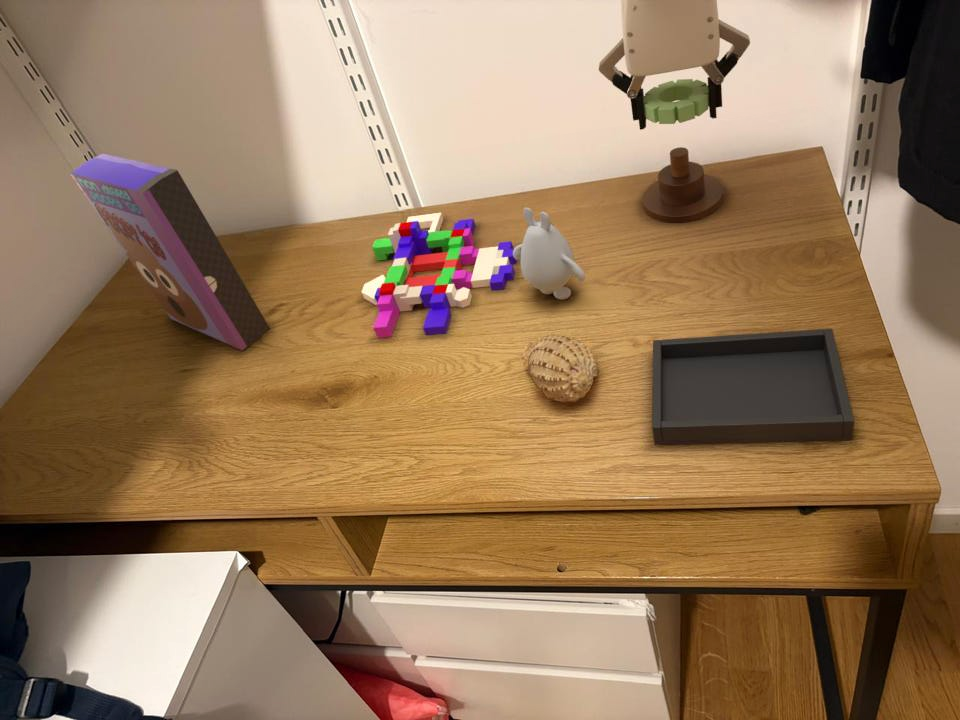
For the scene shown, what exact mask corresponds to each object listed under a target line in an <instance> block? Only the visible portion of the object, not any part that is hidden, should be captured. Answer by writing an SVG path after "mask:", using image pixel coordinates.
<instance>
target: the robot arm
mask: <svg viewBox="0 0 960 720" xmlns="http://www.w3.org/2000/svg"><path fill="white" fill-rule="evenodd" d="M620 5H621V24H622V25H621V29H622V38H621V39H620V40H619V41H618V42H617V44H616V45H614V47H613V48H611V50H610V51H609V52H608V53H607V54H606V55H605V56H604V57H603V58H602V59H601V60H600V62H599V64H598V71H599V73H600V74H601V75H602V76H603V77H605V79H607V80H608V81H610V82H611V83H612V85H613V86H614V87H615V88H616V89H618V90H619V91H621V92H623V93H624V94H626V97H627V98H628V99H629V100H630V106H631V115H632V121H634V122H635V121H638V127H639V130H640V131H641V130H642V131H643V130H645V129H646V128H647V119H646V117H645V113H644V104H643V98H644V96H645V93H644V87H643V88H642V86H643V84H644V81H645V79H646V77H649V76H654V75H662V74H667V73H671V72H672V73H673V72H679V71H685V70H689V69H695V68H699V67H700V68H702V70H703V71H704V72H705V74H706V75H707V85H708V90H709V107H708V110H709V118H711V119H712V120H713V119H717V118H718V117H717V116H718V115H717V108H723V95H722V94H723V93H722V92H723V88H722V84H723V83H724V81H725V78H726V77H727V76H728V74H729V73H730V72H731V71H732V70H733V69H734V68H735V67H736V66H737V64H738V61H740V58H741V57H742V56H743V55H744V53H745V52H746V51H747V49H748V48H749V46H750V45H751V39H750V36H749V35H748V34H747V33H745V32H743V31H741V30H740V29H738V28H736V27H734V26H732V25H730V24H728V23H727V22H724V21H723V20H721V19H719V10H718V9H719V8H718V0H621V3H620ZM721 39H722V40H723V41H725V42H727V43H729V44H730V45H731V47H730V49H729V50H728V51H727V52H726V53H725V54H724V55H723V57H722V58H721V59H720V60H718V58H719V56H720V50H721V49H720V48H721V46H720V45H721V43H720V41H721ZM622 58H624V61H625V66H626V70H627V73H628V74H629V75H630V76H629V75H628V74H626V73H624V72H623V71H621V70H619V69H618V67H616V65H617V64H618V63H619V62H620V61H621V60H622Z"/></svg>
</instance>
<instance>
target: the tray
mask: <svg viewBox="0 0 960 720" xmlns="http://www.w3.org/2000/svg"><path fill="white" fill-rule="evenodd" d="M846 385H847V384H846V380H845V377H844V372H843V368H842V363H841V359H840V355H839V351H838V347H837V342H836V338H835V334H834V329H833V328H820V329H819V328H818V329H805V330H803V329H802V330H790V331H788V330H787V331H774V332H773V331H772V332H757V333H741V334H727V335H712V336H698V337H697V336H696V337H682V338H681V337H680V338H668V339H654V340H652V389H651V390H652V395H651V401H652V402H651V429H652V437H653V444H654V445H655V446H665V445H666V446H668V445H707V444H710V445H711V444H744V443H745V444H746V443H748V444H749V443H782V442H783V443H784V442H785V443H786V442H790V443H791V442H824V441H827V442H829V441H830V442H831V441H852V440H853V433H854V425H855V419H854V418H855V417H854V414H853V409H852V405H851V401H850V398H849V397H850V396H849V394H848V393H849V392H848V389H847V386H846Z"/></svg>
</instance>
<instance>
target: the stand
mask: <svg viewBox="0 0 960 720" xmlns="http://www.w3.org/2000/svg"><path fill="white" fill-rule="evenodd" d="M669 161H670V164H667V165H666V166H664V167H662V169H660V171H659V172H658V173H657V180H656V181H655V182H653V183H652V184H650V185H649V186H648V187H647V188H646V190H645V191H644V192H643V195H642V207H643V210H644V212H645V213H646V215H647V216H649V217H650V218H652V219H653V220H656V221H658V222H662V223H669V224H681V223H689V222H694V221H697V220H700V219H703V218H706V217H708V216H709V215H711V214H713V213H714V212H715V211H717V210H718V209H719V208H720V206H721V205H722V203H723V201H724V187H723V184H722V183H721V181H719V180H718V179H717V178H715V177H714V176H711V175H709V174H706V173H705V169H704V167H703V166H702V165H701V164H700V163H697V162H696V161H695V162H694V161H690V157H689V149H688V148H686V147H681V146H680V147H675V148H672V150H670V151H669Z"/></svg>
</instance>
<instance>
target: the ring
mask: <svg viewBox="0 0 960 720" xmlns="http://www.w3.org/2000/svg"><path fill="white" fill-rule="evenodd" d="M643 104H644V113H645V117H646V120H648V121H650V122H652V123H654V124H657V123H658V124H659V125H675V124H676V123H677V121H678V123H679V124H681V123H685V122H688V121H691V120H694V119H695V120H696V117H701V116H702V115H703V114H704V113H706V112H707V111H708V110H709V90H708V82H705V81H701V80H700V79H695V80H693V78H683V79H677V80H676V81H675V80H670V81H666V82H662V83H659V84H658V85H657V86H653V87H651V88H650V89H649V90H647V92H645V93H644V98H643Z"/></svg>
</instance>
